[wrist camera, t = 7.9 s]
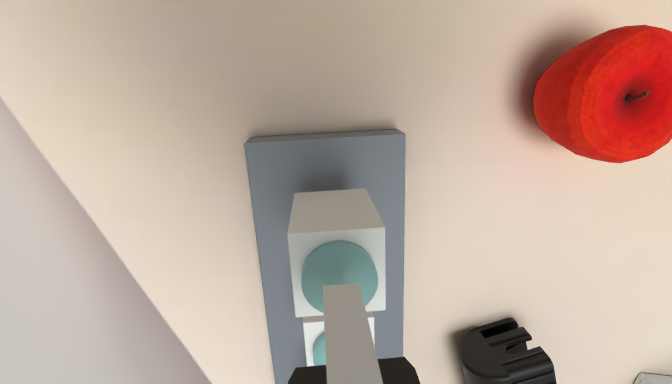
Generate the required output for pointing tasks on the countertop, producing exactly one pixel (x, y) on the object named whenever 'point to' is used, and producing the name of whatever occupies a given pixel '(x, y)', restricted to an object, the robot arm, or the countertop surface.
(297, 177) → the mount
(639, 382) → the supplement box
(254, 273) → the countertop surface
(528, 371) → the end cap
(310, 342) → the button mid
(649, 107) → the apple
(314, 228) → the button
